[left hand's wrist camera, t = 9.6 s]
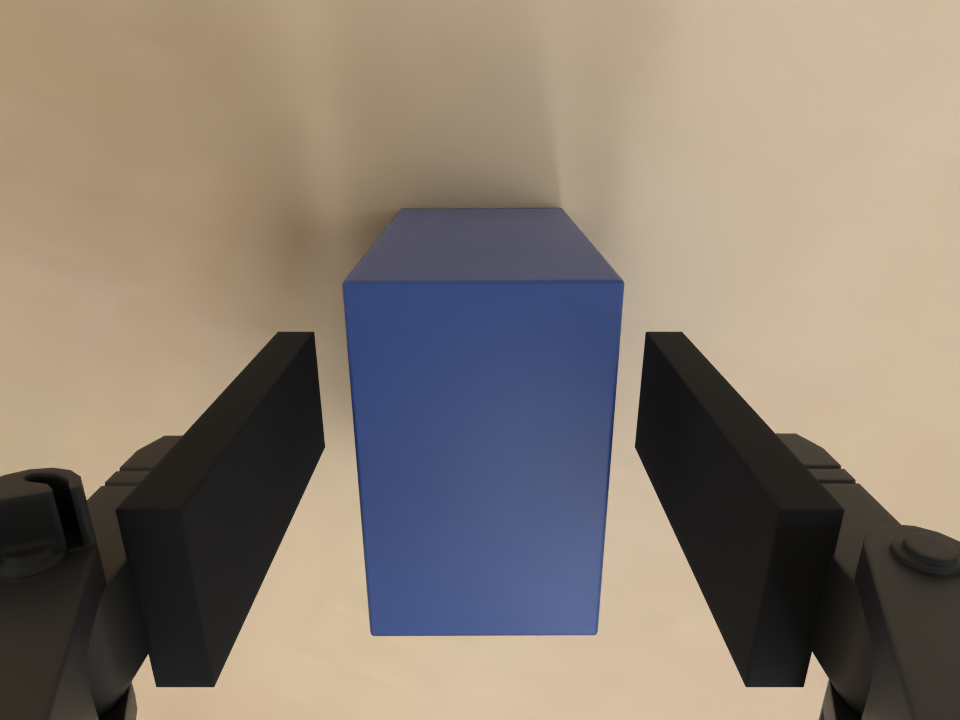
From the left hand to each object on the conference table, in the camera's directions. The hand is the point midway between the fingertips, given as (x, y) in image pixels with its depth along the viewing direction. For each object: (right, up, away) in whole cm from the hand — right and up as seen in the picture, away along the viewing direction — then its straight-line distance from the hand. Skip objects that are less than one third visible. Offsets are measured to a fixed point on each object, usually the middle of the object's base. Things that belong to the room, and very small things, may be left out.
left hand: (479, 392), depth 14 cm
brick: (0, +1, +4) cm, 4 cm away
